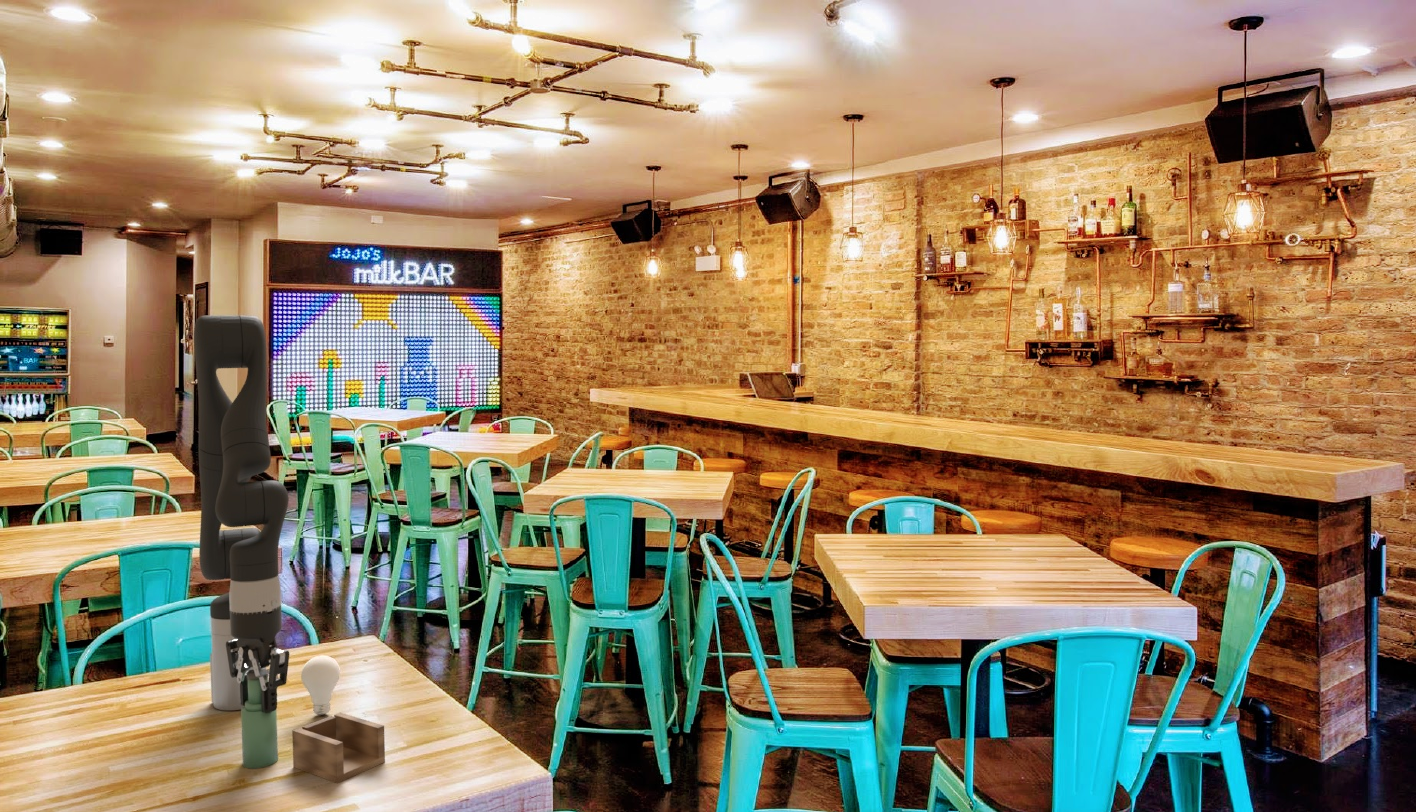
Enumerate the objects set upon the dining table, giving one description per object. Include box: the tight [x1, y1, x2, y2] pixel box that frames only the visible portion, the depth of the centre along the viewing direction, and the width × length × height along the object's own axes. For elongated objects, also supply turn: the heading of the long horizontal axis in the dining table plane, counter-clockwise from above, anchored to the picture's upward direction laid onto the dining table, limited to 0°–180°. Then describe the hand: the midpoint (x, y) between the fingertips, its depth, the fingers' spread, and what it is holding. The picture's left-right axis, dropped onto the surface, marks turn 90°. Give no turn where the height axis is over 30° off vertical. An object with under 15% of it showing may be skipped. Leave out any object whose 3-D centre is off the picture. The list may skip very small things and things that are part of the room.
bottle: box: [240, 668, 279, 769], centre depth 155 cm, size 5×5×15 cm
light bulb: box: [300, 655, 341, 717], centre depth 175 cm, size 7×7×11 cm
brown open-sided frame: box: [291, 712, 386, 784], centre depth 154 cm, size 11×9×6 cm
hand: (258, 707), depth 155 cm, fingers closed on bottle, 5 cm apart
